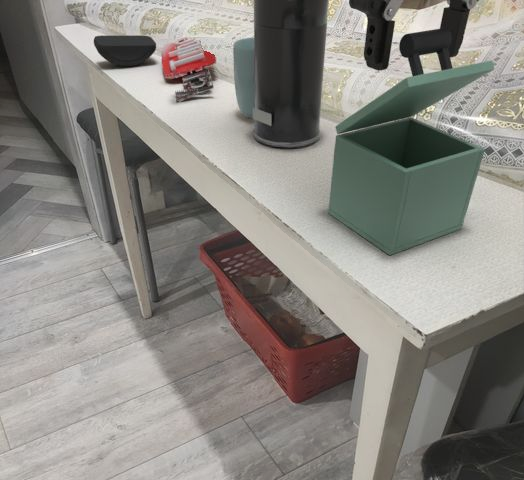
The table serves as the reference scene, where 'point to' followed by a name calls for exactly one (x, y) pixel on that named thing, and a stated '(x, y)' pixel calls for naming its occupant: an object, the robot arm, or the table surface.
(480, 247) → the table surface
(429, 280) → the table surface
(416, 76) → the green square slab
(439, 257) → the table surface
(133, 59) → the computer mouse
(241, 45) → the cup
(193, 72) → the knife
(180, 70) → the logo
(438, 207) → the green storage box
